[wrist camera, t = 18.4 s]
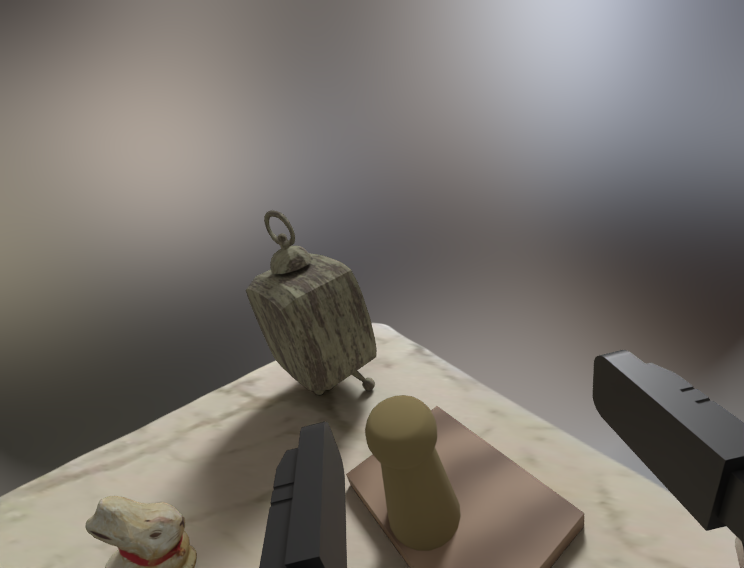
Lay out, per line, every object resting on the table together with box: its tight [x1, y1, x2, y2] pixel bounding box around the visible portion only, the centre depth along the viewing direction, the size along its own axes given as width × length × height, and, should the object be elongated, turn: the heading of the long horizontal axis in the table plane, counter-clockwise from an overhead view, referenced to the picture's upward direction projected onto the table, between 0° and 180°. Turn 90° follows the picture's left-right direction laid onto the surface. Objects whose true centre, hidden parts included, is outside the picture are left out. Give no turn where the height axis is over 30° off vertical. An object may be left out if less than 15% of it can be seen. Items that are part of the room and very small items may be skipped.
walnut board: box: [346, 406, 584, 568], centre depth 31 cm, size 16×12×2 cm
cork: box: [365, 395, 461, 551], centre depth 27 cm, size 6×6×11 cm
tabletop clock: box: [246, 211, 376, 395], centre depth 45 cm, size 14×9×25 cm, turn 38°
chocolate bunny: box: [86, 496, 197, 568], centre depth 30 cm, size 6×8×10 cm
